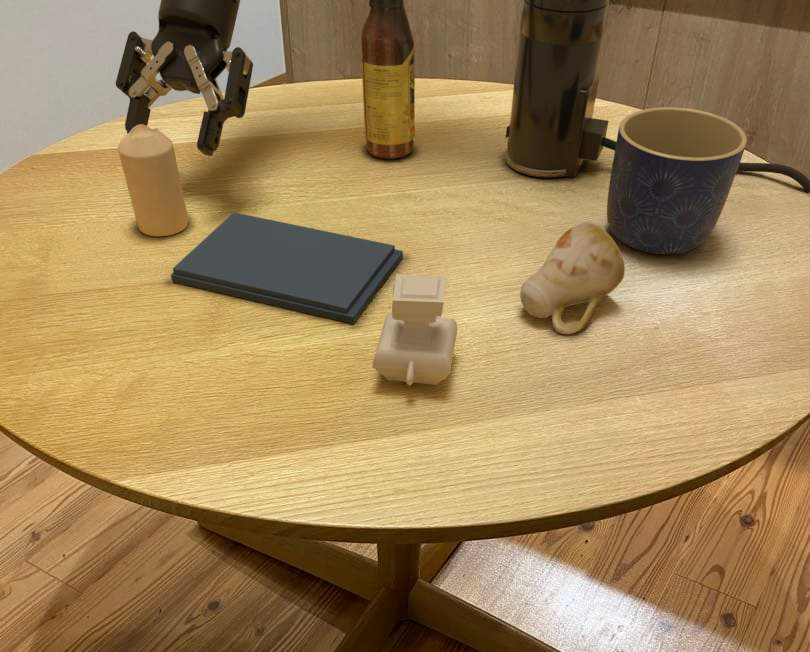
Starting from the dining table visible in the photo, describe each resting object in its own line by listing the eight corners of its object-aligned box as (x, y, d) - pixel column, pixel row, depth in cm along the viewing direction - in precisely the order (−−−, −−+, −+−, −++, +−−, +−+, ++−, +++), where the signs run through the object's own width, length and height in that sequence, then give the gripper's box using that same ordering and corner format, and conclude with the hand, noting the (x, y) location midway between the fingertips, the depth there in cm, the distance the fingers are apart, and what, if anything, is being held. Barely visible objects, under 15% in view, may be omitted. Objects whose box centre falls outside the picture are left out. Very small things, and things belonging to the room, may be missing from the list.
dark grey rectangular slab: (403, 257, 83) (403, 245, 82) (353, 324, 75) (353, 311, 74) (235, 222, 88) (233, 210, 87) (172, 282, 80) (169, 269, 79)
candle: (136, 216, 89) (111, 122, 81) (185, 209, 90) (166, 116, 82) (140, 240, 85) (115, 144, 78) (192, 233, 86) (172, 138, 79)
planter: (727, 226, 88) (761, 122, 80) (693, 277, 81) (727, 170, 73) (621, 198, 92) (643, 97, 84) (580, 245, 85) (600, 140, 77)
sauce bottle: (422, 156, 99) (426, -35, 84) (375, 164, 97) (370, -29, 82) (402, 136, 103) (403, -50, 88) (357, 143, 101) (350, -45, 86)
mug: (494, 310, 77) (528, 203, 74) (563, 326, 83) (598, 227, 79) (544, 330, 72) (583, 216, 68) (614, 346, 78) (654, 242, 74)
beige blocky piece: (386, 338, 74) (385, 254, 68) (457, 344, 73) (462, 260, 67) (370, 399, 68) (367, 314, 62) (447, 406, 68) (452, 321, 61)
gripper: (124, -43, 80) (90, 119, 82) (249, -28, 77) (210, 140, 79) (164, 2, 88) (132, 150, 89) (279, 18, 84) (244, 171, 86)
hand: (169, 146), depth 84 cm, fingers open, 8 cm apart
